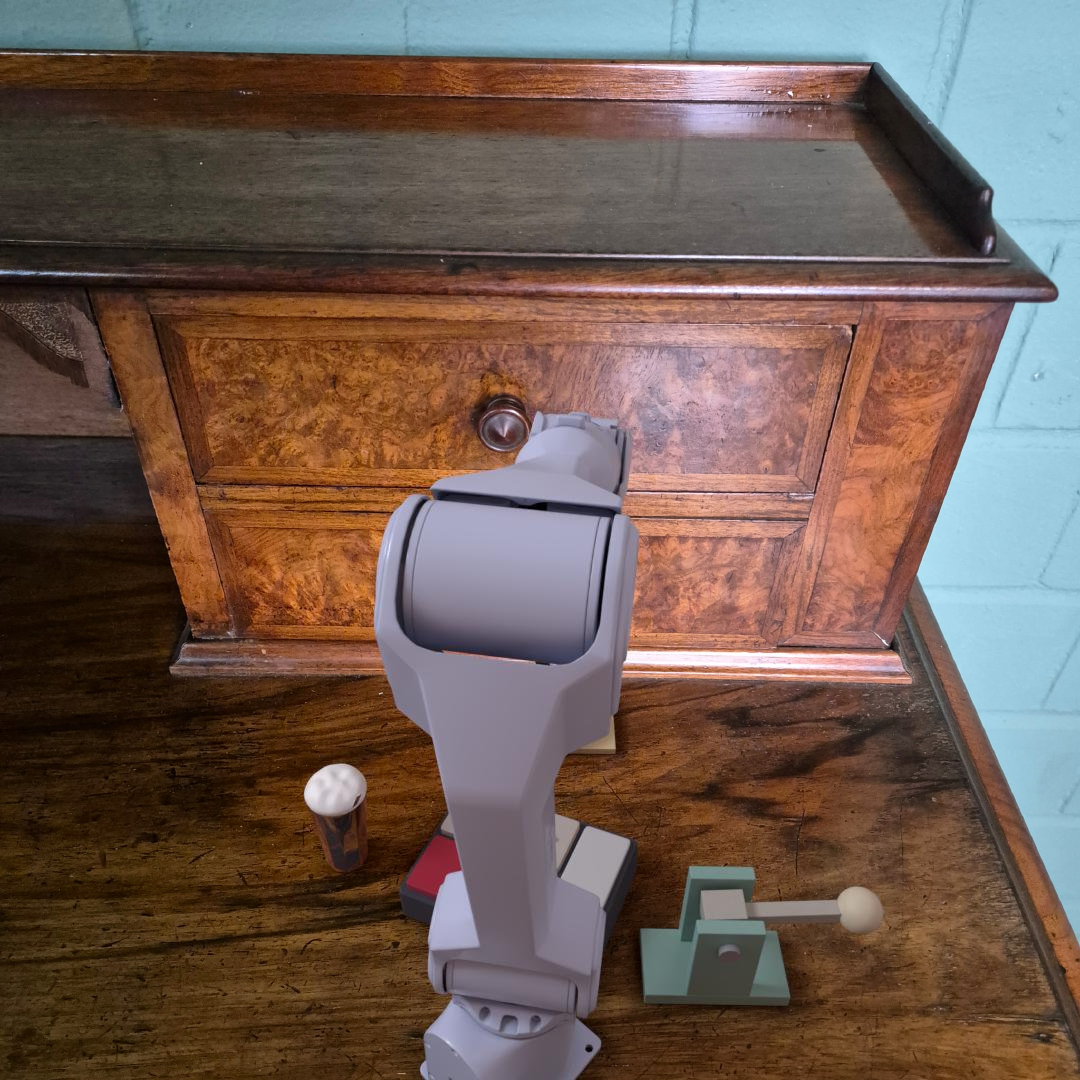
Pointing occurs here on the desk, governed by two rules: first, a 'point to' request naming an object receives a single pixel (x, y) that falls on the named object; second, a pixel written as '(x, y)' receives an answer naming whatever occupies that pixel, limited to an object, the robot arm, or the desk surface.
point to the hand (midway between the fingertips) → (569, 706)
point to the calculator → (581, 861)
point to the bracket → (713, 951)
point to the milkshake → (339, 814)
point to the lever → (797, 909)
